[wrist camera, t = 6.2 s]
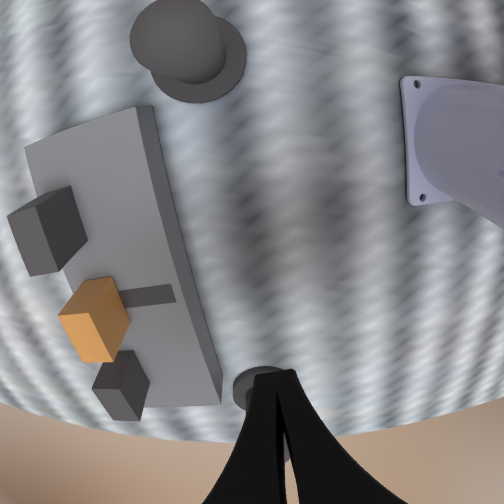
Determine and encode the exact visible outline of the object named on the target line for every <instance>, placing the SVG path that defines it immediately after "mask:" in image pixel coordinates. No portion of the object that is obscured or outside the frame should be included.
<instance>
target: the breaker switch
mask: <svg viewBox="0 0 504 504" xmlns="http://www.w3.org/2000/svg"><path fill="white" fill-rule="evenodd" d="M58 317H59V319H60V321H61V323H62V325H63V327H64V329H65V331H66V332H67V334H68V336H69V338H70V340H71V342H72V343H73V345H74V347H75V349H76V351H77V352H78V354H79V356H80V357H81V359H82V361H83V363H92V362H114V360H115V357H116V355H117V353H118V350H119V348H120V345H121V343H122V341H123V338H124V336H125V334H126V332H127V329H128V327H129V325H130V323H131V322H130V320H129V317H128V315H127V313H126V310H125V308H124V306H123V303H122V301H121V298H120V296H119V293H118V291H117V288H116V286H115V283H114V280H113V278H112V277H106V278H99V279H93V280H86V281H83V282H82V284H81V285H80V286H79V288H78V289H77V290H76V292H75V293H74V294H73V296H72V297H71V298H70V300H69V301H68V302H67V304H66V305H65V306H64V308H63V309H62V311H61V312H60V313H59V315H58Z"/></svg>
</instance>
